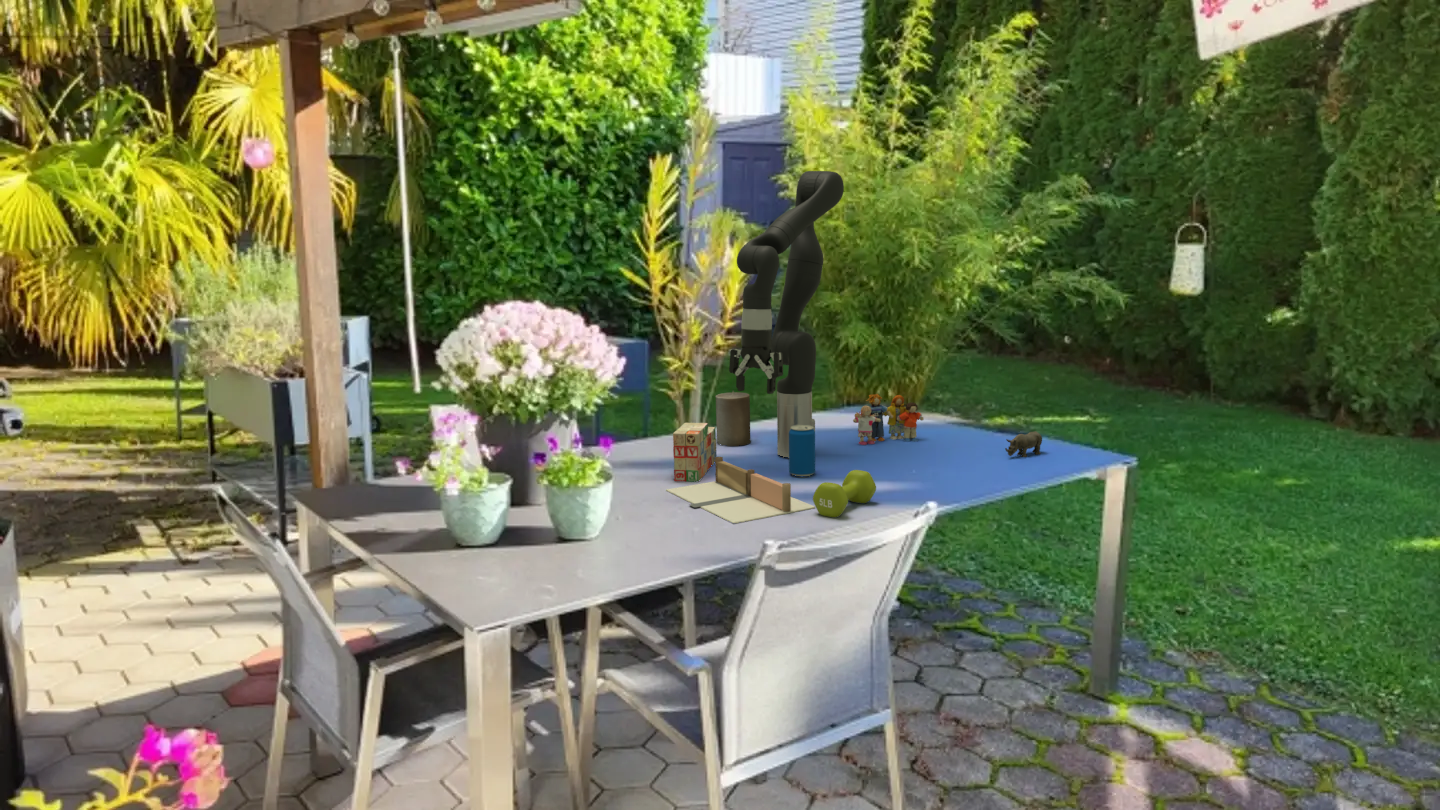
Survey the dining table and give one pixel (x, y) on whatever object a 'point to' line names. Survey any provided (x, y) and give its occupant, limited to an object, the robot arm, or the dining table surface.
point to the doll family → (898, 420)
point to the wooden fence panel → (733, 476)
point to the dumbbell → (844, 493)
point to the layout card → (732, 502)
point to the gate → (771, 492)
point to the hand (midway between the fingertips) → (755, 392)
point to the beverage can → (802, 450)
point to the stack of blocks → (693, 451)
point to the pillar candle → (733, 418)
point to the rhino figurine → (1025, 444)
